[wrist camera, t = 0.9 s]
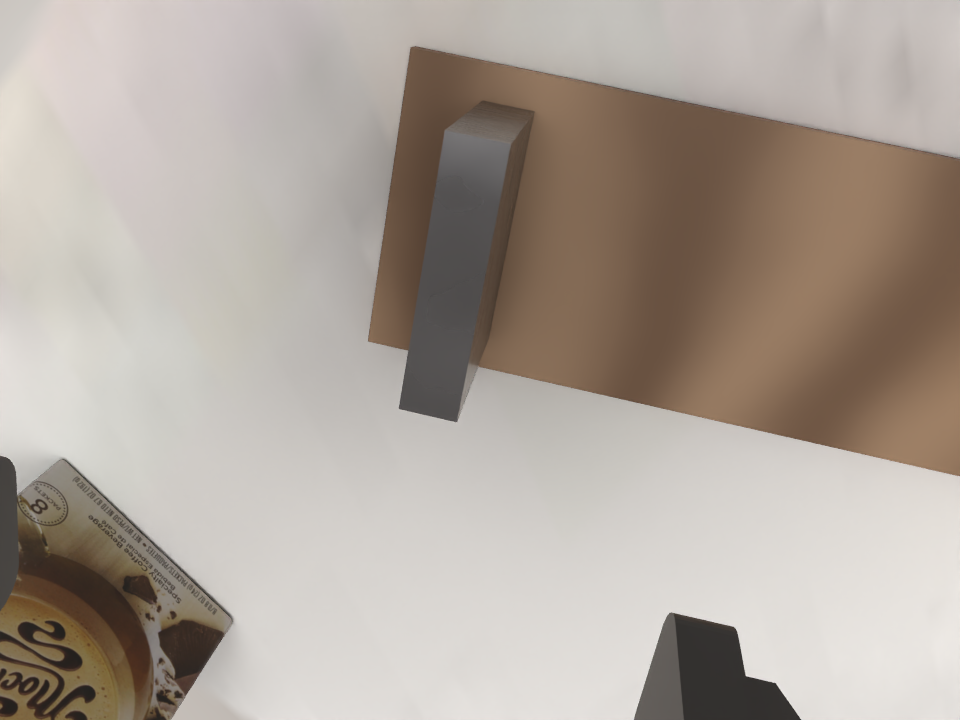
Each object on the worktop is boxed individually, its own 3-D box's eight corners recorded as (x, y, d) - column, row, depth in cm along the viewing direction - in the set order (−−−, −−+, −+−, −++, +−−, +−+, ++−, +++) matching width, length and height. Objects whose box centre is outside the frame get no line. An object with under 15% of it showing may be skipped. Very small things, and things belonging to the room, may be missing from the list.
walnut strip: (372, 334, 30) (308, 422, 24) (415, 46, 26) (352, 63, 20) (1327, 551, 28) (1525, 708, 22) (1513, 273, 24) (1809, 368, 18)
